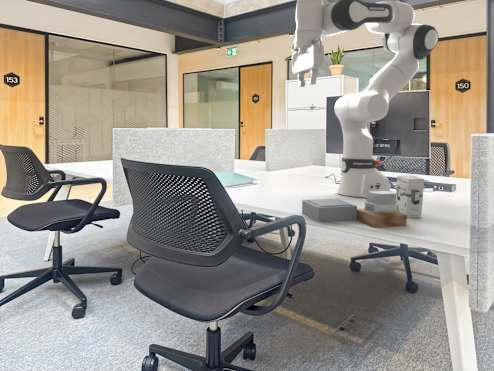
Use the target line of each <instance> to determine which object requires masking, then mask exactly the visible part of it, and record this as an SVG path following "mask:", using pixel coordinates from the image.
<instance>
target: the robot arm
mask: <svg viewBox="0 0 494 371" xmlns="http://www.w3.org/2000/svg"><path fill="white" fill-rule="evenodd" d="M414 20H415V10H414V8H413V6H412V5H411V4H409V3H408V2H403V1H397V0H385V1H384V0H383V1H378V2H365V1H362V0H338V1H335V2H332V3H331V2H329V1H328V0H296V7H295V23H296V27H295V28H296V29H295V32H294V39H293V42H292V44H291V46H290V52H292V53H291V54H292V55H291V70H292V73H293V74H292V75H297V80H298V87H300V88H304V87H305V86H306V81H305V74H307V73H310V77H309V80H308V81H309V82H308V83H309V85H316V83H317V77H318V74H319V70H321V69H324V67H325V65H326V64H325V62H326V60H325V58H326V57H325V56H326V55H325V46H324V44H323V37H331V36H334V35H337V34H341V33H345V32H349V31H355V30H356V29H358V28H360V27H361V26H363V25H365V26H366V28H367V30H368V32H371V33H373V34H380V35H382V39H381V42H382V47H383V50H385V51H386V52H388V53H391V54H395V55H394V57H393V58H392V60H390V61H388V62H387V64H385V65H384V66H383V67H382V68H381V69H380V70H379V71H378V72H377V73H375V74H374V75H373V76H372V77H371V78H370V80H369V85H368V87H367V88H366V89H364V90H363V91H361V92H358V93H348V94H345V95H344V96H341V97H339V98H338V99H337V100H336V102H335V104H334V107H333V108H334V114H335V116H336V117H337V119H338V121H339V123H340V126H341V131H342V132H341V133H342V136H343V144H342V145H343V146H342V147H343V148H342V149H343V151H342V158H341V162H340V164H341V165H340V167H341V168H340V169H341V170H340V171H341V176H340V182H339V186H338V188H337V191H336V193H337V194H339V195H342V196H347V197H358V198H364V199H365V198H366V199H367V191H389V192H392V193H396V191H393V190H391V184H390V180H389V178H388V177H386V175H384V174H383V173H382V172H381V171H380V170H378V168H377V166H381V165H382V161H381V160H380V159H374V158H373V149H374V138H373V136H372V134H371V133H370V131H369V130H368V125H367V123H373V122H376V121H379V120H382V119H384V118H385V117H386V116H387V115H388V112H389V109H390V102H391V100H392V99H393V98H394V97H395V96H396V95H397V94H398V93H399V92H400V91H401V90H402V89H403V88H404V87H405V86H407V84H408V83H409V82H410V81H411V80H412V79H413V78H414V76H415V75H416V74H417V72H418V70H419V66H420V64H419V61H421V60H422V61H423V60H425V59H427V57H428V55H430V54H431V53H432V52H433V50H434V49H435V48H436V46H437V44H438V42H439V31H438V29H437V28H436V27H435V26H433V25H431V24H426V23H424V24H422V23H421V24H420V23H414Z"/></svg>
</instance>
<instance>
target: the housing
mask: <svg viewBox="0 0 494 371" xmlns="http://www.w3.org/2000/svg"><path fill="white" fill-rule="evenodd" d="M364 208H365V211H367V212H370V213H372V214H387V213H397V204H396V192H395V193H392V192H389V191H367V198H366V201H365V202H364Z"/></svg>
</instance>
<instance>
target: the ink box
mask: <svg viewBox="0 0 494 371" xmlns="http://www.w3.org/2000/svg"><path fill="white" fill-rule="evenodd" d="M396 179H397V180H396V191H395V193H396V204H397V212H400V213H403V214H406V215H407V219H408V218H410V219H411V218H414V219H417V218H418V219H419V218H422V212H423V200H424V199H423V198H424V186H425V179H424V178H422V177H419V176H417V175H413V174H411V175H410V174H409V175H408V174H407V175H406V174H405V175H397V178H396Z"/></svg>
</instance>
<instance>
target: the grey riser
mask: <svg viewBox="0 0 494 371" xmlns="http://www.w3.org/2000/svg"><path fill="white" fill-rule="evenodd" d="M301 201H302V202H301V205H302V206H301V213H302V214H303V215H306V216H307V217H309V218H310V219H313V220H314V221H316V222H318V223H319V222H323V223H324V222H336V221H337V222H340V221H341V222H342V221H358V220H357V209H358V205H356V204H353V203H350V202H347V201H345V200H343V199H340V198H317V199H315V198H314V199H302V200H301Z"/></svg>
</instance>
